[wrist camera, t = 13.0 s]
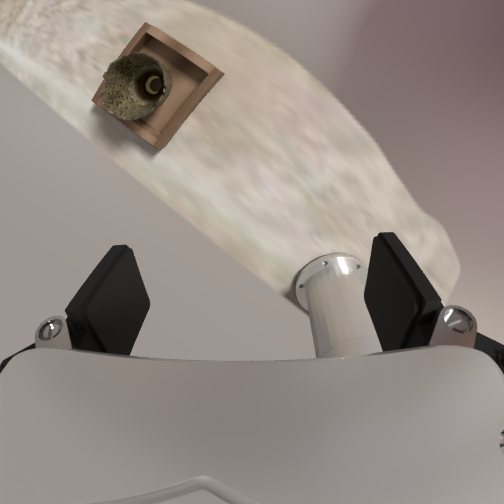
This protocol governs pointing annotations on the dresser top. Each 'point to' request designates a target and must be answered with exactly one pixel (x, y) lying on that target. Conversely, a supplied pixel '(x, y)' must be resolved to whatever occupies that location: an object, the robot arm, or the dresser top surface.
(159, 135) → the box
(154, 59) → the olive round vessel
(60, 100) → the dresser top surface
